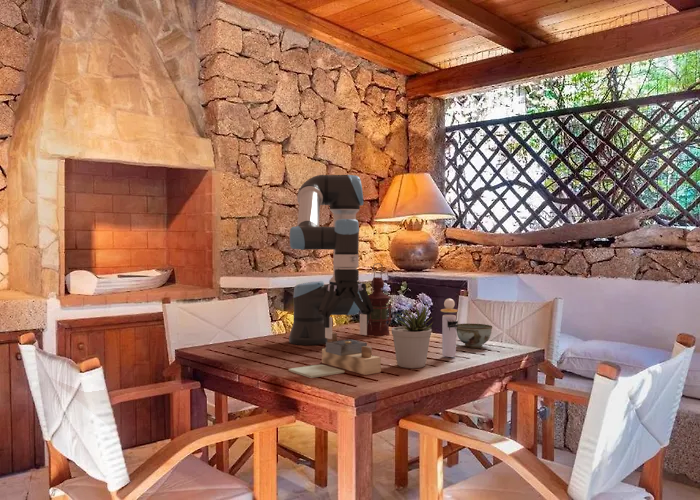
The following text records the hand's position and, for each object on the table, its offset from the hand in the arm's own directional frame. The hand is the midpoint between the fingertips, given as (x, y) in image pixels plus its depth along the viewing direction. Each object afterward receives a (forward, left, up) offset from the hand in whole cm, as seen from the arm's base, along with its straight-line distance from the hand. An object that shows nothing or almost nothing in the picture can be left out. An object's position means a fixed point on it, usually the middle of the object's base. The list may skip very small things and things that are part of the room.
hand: (346, 336), depth 189 cm
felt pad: (+1, -12, -9) cm, 15 cm away
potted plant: (+12, +17, -10) cm, 23 cm away
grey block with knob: (0, 0, -5) cm, 5 cm away
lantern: (-45, +51, -10) cm, 69 cm away
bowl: (0, +60, -10) cm, 61 cm away
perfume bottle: (+9, +37, -10) cm, 39 cm away
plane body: (+2, 0, -9) cm, 10 cm away
